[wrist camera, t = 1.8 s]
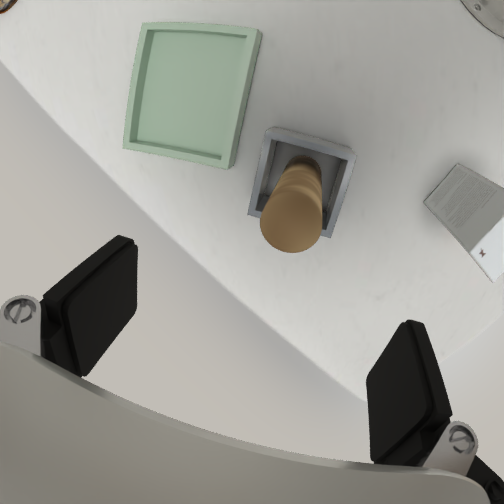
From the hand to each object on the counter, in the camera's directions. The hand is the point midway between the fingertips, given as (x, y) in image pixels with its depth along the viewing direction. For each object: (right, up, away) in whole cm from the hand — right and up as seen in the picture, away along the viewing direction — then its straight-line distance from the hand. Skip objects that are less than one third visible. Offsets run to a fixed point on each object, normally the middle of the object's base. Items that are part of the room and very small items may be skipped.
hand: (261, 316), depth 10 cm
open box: (+5, +10, +20) cm, 23 cm away
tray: (-7, +19, +18) cm, 27 cm away
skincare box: (+21, +8, +17) cm, 28 cm away
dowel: (+5, +10, +20) cm, 23 cm away
